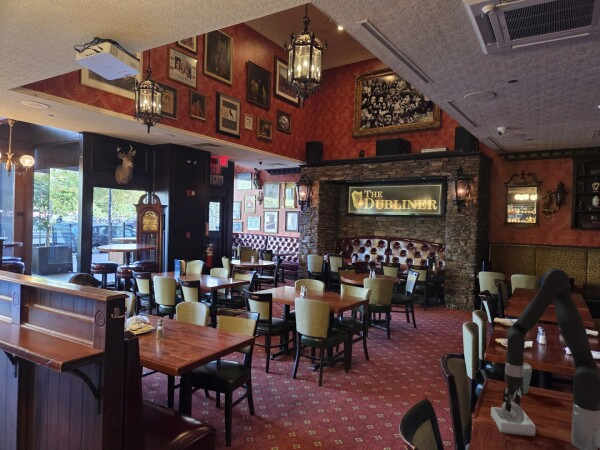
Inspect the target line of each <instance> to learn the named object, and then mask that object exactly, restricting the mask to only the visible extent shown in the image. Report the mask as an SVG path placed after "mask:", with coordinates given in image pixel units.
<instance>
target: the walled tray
mask: <svg viewBox="0 0 600 450" xmlns="http://www.w3.org/2000/svg"><path fill="white" fill-rule="evenodd" d="M490 407H491V408H490V417H491V416H492V417H491V419H492V418H493V419H494V421H495V422H496V424H495V425H497V426H496V427H497V428H498V430H499V432H500V433H503V434H511V435H522V436H531V437H535V436H536V425H535V424H534V422H533V421H532V419H530V417H529V416H528V415H527V413H526V412H525V411H524V410H523V413H524V421H523V422H522V423H521V424H519V423H510V422H508V421H507V420H506V419H505V418H504V417H503V415H502V411H501V408H502V407H495V406H490ZM510 414H511V415H512V416H513V417H515V416H516V414H515V412H514V411H513V410H512V409H511V411H510ZM493 419H492V420H493ZM494 421H493V422H494ZM495 422H494V423H495Z"/></svg>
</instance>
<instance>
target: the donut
mask: <svg viewBox="0 0 600 450" xmlns="http://www.w3.org/2000/svg"><path fill="white" fill-rule="evenodd" d="M505 407H506V402H503V403H502V405H501V407H500V408H501V411H502V415H503V417H504V418H505V419H506V420H507V421H508V422H510V423H519V424H521V423H522V422H523V421H524V413H523V411H524V409H522V407H521V405H520V406H519V405H518V404H516V403H515V401H512V403H511V409H512V410H513V411H514V412H515V414H516V416H515V417H513V416H512V415H511V414H510V412H509V411H507V410H506V409H505Z"/></svg>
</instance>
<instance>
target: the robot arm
mask: <svg viewBox="0 0 600 450" xmlns="http://www.w3.org/2000/svg"><path fill="white" fill-rule="evenodd" d="M572 295H573V294H572V291H571V287H570V277H569V275H568V274H567V272H566V271H564V270H563V269H560V268H550V269H549V270H547V271H546V272H545V274H544V275H543V281H542V284H541V286H540V288H539V290H538V291H537V293H536V294H535V296H534V297H533V298H532V300H531V301H530V302H529V303H528V304H527V305H526V307H524V309H523V311H522V312H521V314H520V315H519V316H518V317H517V320H516V321H514V323H513V324H511V326H510V327H509V329H508V330H507V332H506V338H507V339H506V341H507V344H506V345H507V346H506V347H507V350H506V354H505V355H506V356H505V366H504V382H505V383H506V384H507V388H505V387H504V388H503V391H502V394H503V395H502V402H503V403H505V402H506V407H505V409H506V410H507V411H509V412H510V411H511V403H512V402H513V400H514V403H516V404H518V405H519V406H520V407H521V401H522V400H521V399H522V396H524V395H525V394H524V384H523V381H524V366H523V364H524V363H525V361H524V358H525V357H524V356H525V355H524V353H525V345H526V338H525V337H526V336H527V334H528V333H529V332H530V331H532V330H533V329H534V328H535V327H536V325H537V323H538V322H539V321H540V319H541V318H542V317H543V315H544V314H545V312H546V311H547V309H548V308H549V306H550V305H551V304H552V302H553V306H554V312H555V313H554V314H555V317H556V322H557V325H558V329H559V331H560V334H561V337H562V340H563V342H564V343H565V345H566V347H567V348H568V350H569V352H570V353H571V356H572V360H573V364H574V369H575V372H574V374H573V382H572V383H573V384H572V385H573V386H572V398H573V401H572V415H571V416H572V418H571V420H572V421H571V422H572V423H571V437H570V438H571V439H570V442H572V443H571V445H573V446H574V447H575V448H577V449H579V450H598V449H599V448H600V369H599V367H598V365H597V362H596V360H595V358H594V355H593V353H592V348H591V343H590V340H589V336H588V333H587V329H586V326H585V323H584V320H583V318H582V316H581V313H580V310H579V309H578V307H577V305H576V303H575V301H574V299H573V296H572ZM520 390H521V391H520ZM599 450H600V449H599Z"/></svg>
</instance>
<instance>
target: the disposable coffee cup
mask: <svg viewBox="0 0 600 450" xmlns="http://www.w3.org/2000/svg"><path fill="white" fill-rule="evenodd" d="M523 366H524V381H523V384H524V395H527V394H528V392H529V387H530V385H531V384H530V383H531V379H532V378H531V377H532V372H533V367H532V366H531V365H530V364H529V363H527V362H524V364H523ZM520 391H521V390H520Z"/></svg>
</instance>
